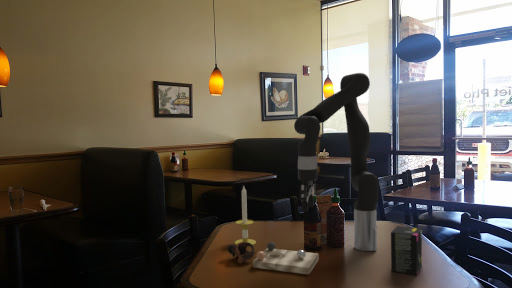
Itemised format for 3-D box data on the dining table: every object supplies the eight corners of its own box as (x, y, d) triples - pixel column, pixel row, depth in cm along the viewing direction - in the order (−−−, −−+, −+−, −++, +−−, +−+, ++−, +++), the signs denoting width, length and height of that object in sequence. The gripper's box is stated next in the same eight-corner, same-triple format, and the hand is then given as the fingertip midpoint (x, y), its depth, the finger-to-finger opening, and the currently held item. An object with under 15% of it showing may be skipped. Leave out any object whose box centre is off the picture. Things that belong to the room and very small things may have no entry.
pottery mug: (256, 256, 164) (258, 242, 159) (249, 273, 156) (252, 259, 151) (229, 248, 166) (231, 234, 161) (221, 264, 158) (223, 250, 153)
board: (318, 259, 157) (318, 253, 156) (308, 274, 142) (308, 267, 142) (267, 253, 165) (267, 248, 165) (253, 267, 150) (252, 260, 150)
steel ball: (306, 257, 152) (306, 249, 152) (304, 260, 149) (304, 252, 148) (298, 256, 153) (298, 248, 153) (295, 259, 150) (295, 251, 150)
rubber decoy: (276, 249, 163) (276, 241, 163) (273, 251, 160) (273, 243, 159) (268, 248, 164) (268, 240, 164) (266, 251, 161) (265, 242, 161)
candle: (251, 247, 174) (250, 187, 173) (231, 245, 178) (229, 186, 176) (259, 240, 184) (257, 183, 182) (239, 238, 187) (237, 183, 185)
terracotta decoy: (266, 258, 152) (266, 250, 151) (263, 261, 149) (263, 253, 148) (258, 257, 153) (258, 249, 153) (255, 260, 150) (254, 252, 150)
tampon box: (417, 276, 138) (417, 235, 137) (390, 271, 143) (390, 232, 142) (422, 266, 147) (422, 227, 146) (397, 261, 152) (397, 224, 151)
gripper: (312, 170, 144) (312, 213, 145) (321, 165, 157) (321, 205, 158) (292, 169, 147) (293, 212, 148) (303, 165, 160) (304, 204, 161)
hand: (308, 208), depth 153 cm, fingers open, 8 cm apart
